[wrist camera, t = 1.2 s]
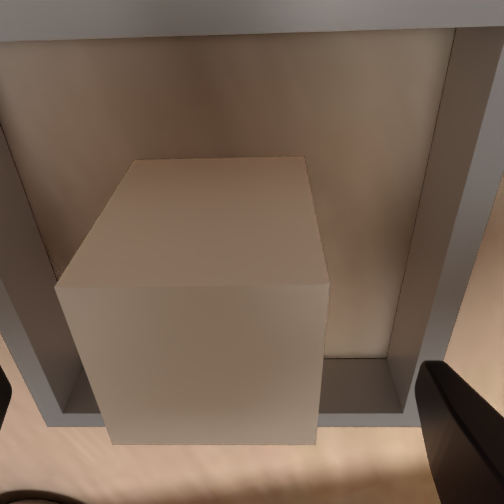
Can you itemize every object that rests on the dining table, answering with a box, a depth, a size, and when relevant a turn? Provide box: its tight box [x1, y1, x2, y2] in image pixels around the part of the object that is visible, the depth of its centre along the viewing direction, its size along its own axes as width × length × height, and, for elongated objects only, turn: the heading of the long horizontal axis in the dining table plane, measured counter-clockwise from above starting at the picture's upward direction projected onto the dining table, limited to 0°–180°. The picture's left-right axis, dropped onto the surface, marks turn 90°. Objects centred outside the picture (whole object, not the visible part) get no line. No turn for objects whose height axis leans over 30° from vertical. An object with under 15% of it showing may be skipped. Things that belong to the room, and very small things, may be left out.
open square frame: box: [0, 0, 504, 427], centre depth 13 cm, size 14×14×2 cm
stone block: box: [54, 156, 330, 445], centre depth 12 cm, size 5×5×6 cm
